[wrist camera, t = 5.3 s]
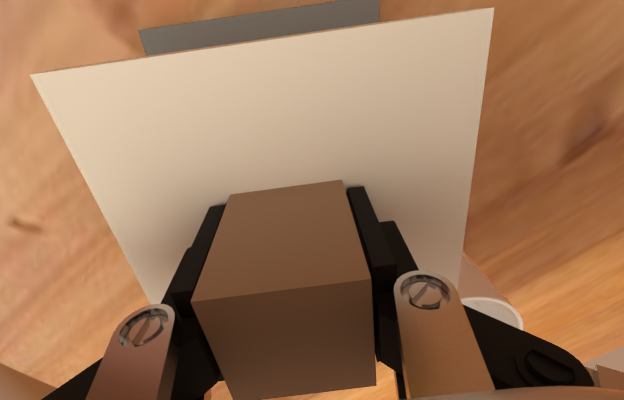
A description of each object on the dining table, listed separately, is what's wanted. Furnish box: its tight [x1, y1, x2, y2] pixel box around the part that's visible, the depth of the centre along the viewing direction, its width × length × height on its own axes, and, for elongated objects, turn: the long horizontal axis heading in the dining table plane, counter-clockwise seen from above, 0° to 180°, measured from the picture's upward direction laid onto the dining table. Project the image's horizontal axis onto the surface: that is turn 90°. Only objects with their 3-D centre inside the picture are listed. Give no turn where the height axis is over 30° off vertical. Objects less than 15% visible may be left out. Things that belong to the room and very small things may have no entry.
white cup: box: [457, 251, 523, 330], centre depth 24 cm, size 8×8×10 cm
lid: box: [30, 7, 494, 400], centre depth 10 cm, size 12×12×6 cm
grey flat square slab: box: [138, 0, 379, 56], centre depth 22 cm, size 14×14×1 cm
